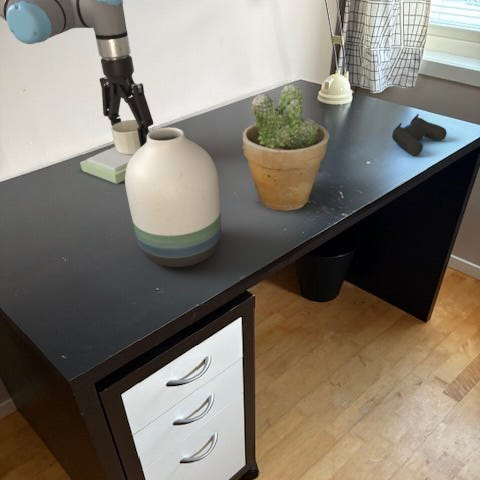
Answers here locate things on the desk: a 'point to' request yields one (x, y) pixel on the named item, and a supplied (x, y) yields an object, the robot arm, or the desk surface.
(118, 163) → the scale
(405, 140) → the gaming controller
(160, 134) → the vase
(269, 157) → the potted plant
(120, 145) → the beige cup
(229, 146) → the desk surface
